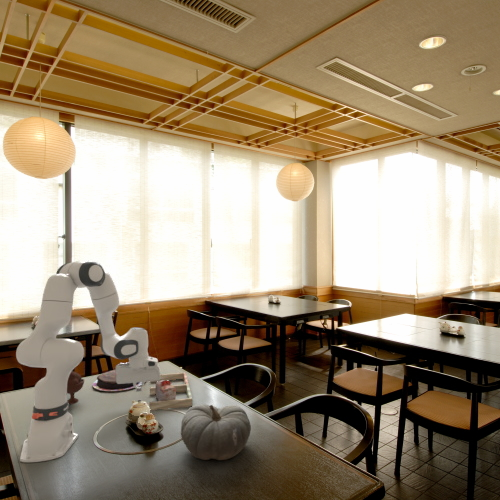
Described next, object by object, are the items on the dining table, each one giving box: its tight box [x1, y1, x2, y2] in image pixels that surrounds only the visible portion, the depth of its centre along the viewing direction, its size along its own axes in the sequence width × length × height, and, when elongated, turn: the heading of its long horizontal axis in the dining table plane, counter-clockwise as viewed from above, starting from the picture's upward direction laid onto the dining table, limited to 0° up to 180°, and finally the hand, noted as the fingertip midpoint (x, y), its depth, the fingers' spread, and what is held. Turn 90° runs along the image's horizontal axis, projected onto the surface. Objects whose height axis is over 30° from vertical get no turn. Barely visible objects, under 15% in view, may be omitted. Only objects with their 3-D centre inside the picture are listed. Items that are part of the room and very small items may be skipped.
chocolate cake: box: [92, 368, 142, 393], centre depth 212 cm, size 28×28×7 cm
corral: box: [148, 371, 193, 411], centre depth 197 cm, size 40×19×4 cm, turn 14°
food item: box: [155, 380, 177, 401], centre depth 186 cm, size 14×8×10 cm, turn 31°
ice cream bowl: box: [67, 370, 85, 405], centre depth 187 cm, size 11×11×15 cm
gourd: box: [180, 403, 252, 461], centre depth 141 cm, size 25×25×17 cm
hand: (139, 391), depth 183 cm, fingers closed
